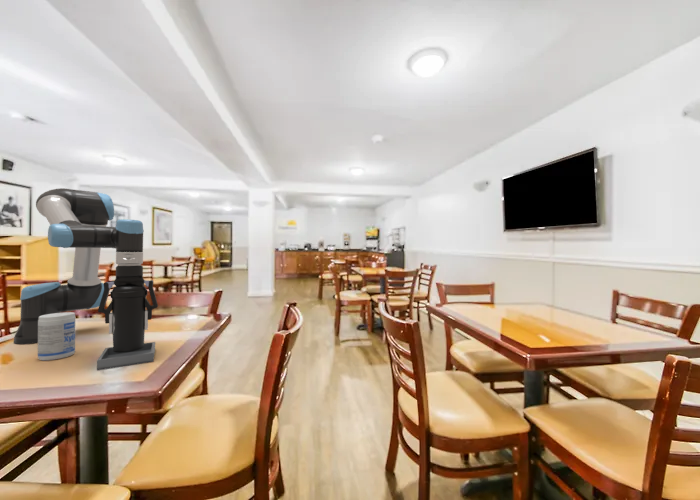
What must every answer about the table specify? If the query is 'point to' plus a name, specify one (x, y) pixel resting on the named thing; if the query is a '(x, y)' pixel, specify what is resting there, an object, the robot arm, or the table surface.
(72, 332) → the supplement tub
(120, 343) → the water bottle
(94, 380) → the table surface
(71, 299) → the robot arm
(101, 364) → the tray
